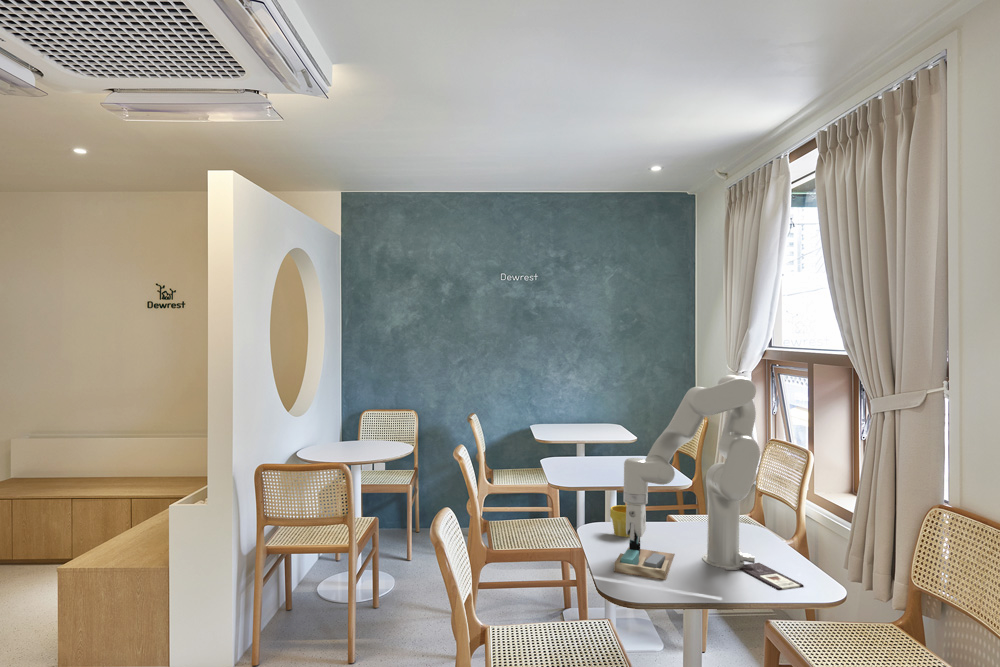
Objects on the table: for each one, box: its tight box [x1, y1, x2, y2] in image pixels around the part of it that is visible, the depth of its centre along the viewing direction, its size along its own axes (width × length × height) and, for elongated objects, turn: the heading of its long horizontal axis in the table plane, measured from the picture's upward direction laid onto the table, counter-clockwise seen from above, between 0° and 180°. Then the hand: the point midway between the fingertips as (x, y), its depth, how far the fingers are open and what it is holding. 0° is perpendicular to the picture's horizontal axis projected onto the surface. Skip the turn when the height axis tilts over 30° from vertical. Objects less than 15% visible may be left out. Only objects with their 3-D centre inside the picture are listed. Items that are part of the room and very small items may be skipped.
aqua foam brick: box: [621, 548, 639, 565], centre depth 185 cm, size 4×9×4 cm, turn 155°
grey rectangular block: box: [644, 553, 665, 569], centre depth 182 cm, size 4×9×4 cm, turn 148°
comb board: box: [613, 546, 676, 581], centre depth 188 cm, size 15×24×3 cm, turn 158°
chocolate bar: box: [739, 562, 804, 591], centre depth 180 cm, size 9×1×18 cm
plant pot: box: [609, 504, 630, 538], centre depth 216 cm, size 10×10×10 cm
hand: (634, 555), depth 191 cm, fingers closed
